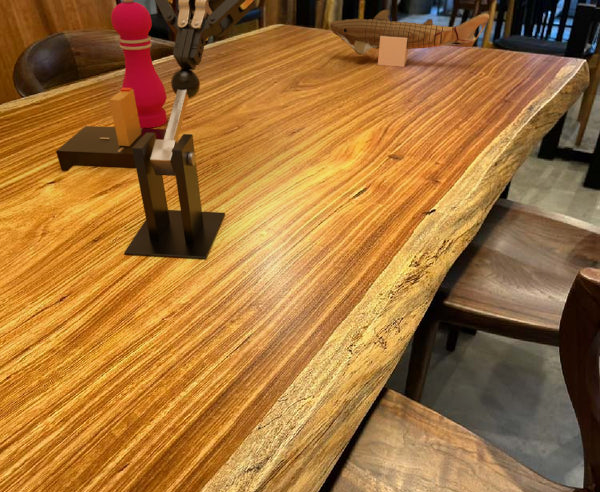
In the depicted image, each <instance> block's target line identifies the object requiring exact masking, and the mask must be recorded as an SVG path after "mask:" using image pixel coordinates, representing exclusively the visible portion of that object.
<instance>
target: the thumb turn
mask: <svg viewBox="0 0 600 492" xmlns="http://www.w3.org/2000/svg"><path fill="white" fill-rule="evenodd" d="M108 101H109V105H110V110H111V115H112V119H113V125H114V127H115V130H116V134H117V139H118V144H119V146H130V145H131V144H132V143H133V142H134V141H135V140H136V139H137V138H138V137H139V136H140V135H141V129H140V124H139V118H138V113H137V107H136V101H135V96H134V90H133V89H132V88H122V87H121V88H120V90H119V91H118V92H117V93H115V94H114V95H113V96H112V97H111V98H109V100H108Z"/></svg>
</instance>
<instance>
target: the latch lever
mask: <svg viewBox="0 0 600 492" xmlns="http://www.w3.org/2000/svg"><path fill="white" fill-rule="evenodd" d="M170 79H171V80H170V85H171V86H170V87H171V89H172V92H174V94H175V97H174V101H173V104H172V108H171V111H170V115H169V118H168V123H167V126H166V128H165V129H166V133H165V137H164V140H159V139H156V140H155V143H154V147H153V150H152V154H151V157H150V161H151V164H152V166H153V169H154V171H155V173H156V175H162V176H167V177H176V175H175V169H174V162H173V155H172V149H173V148H174V146H175V145H176V144H177V142H178V141H179V136H180V132H181V129H182V125H183V120H184V116H185V112H186V109H187V105H188V101H189V100H190V99H192V98H194V97H196V96H197V95H198V93H199V92H200V88H201V83H200V78H199V77H198V75H197V74H196V72H194V70H189V69H181V68H180V69H178V70H176V71H175V72H174V73H173V74H172V77H171V78H170Z"/></svg>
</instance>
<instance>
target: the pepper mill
mask: <svg viewBox="0 0 600 492" xmlns="http://www.w3.org/2000/svg"><path fill="white" fill-rule="evenodd" d="M110 16H111V17H110V21H111V25H112V28H113V30H114V31H115V32H116V33H117V34H118V35H119V37H118V43H119V47H120V49H122V52H123V55H124V63H125V66H124V68H125V69H124V71H125V72H124V76H123V81H122V85H121V89H122V88H132V89H133V90H134V96H135V101H136V107H137V113H138V118H139V124H140V128H148V129H154V128H158V127H161V126H163V125H165V124H166V123H167V121H168V118H167V112H166V109H165V108H164V105H165V104H166V102H167V91H166V88H165V86H164V84H163V82H162V80H161V78H160V76H159V75H158V72H157V71H156V68H155V66H154V64H153V60H152V56H151V47H152V46H153V44H152V42H151V40H152V37H151V36H150V35H149V32H150V31H151V28H152V25H153V23H152V17H151V14H150V12H149V10H148V9H147V8H146V7H145V6H144V5H142V4H141V3H139V2H136V1H134V0H122V2H120V3H118V4H116V5H115V7H114V8H113V9H112V11H111V15H110Z"/></svg>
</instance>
